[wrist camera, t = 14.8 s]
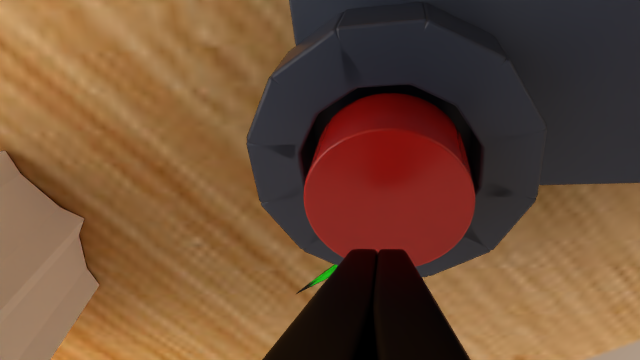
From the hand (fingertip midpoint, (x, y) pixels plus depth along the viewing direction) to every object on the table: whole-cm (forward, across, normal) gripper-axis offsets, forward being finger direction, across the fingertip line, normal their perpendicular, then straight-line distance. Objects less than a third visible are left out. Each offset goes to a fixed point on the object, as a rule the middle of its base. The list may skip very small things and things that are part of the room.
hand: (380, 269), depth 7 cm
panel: (+6, -3, -2) cm, 7 cm away
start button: (+3, 0, 0) cm, 3 cm away
